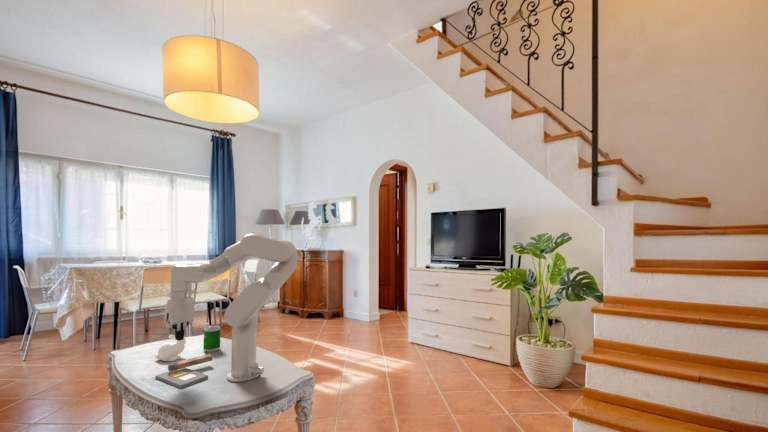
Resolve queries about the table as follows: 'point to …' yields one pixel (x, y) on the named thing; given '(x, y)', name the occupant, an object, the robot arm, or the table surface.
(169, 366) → the swing bar
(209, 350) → the soda can
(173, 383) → the label board
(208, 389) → the table surface
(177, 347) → the rabbit
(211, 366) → the table surface
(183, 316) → the robot arm
